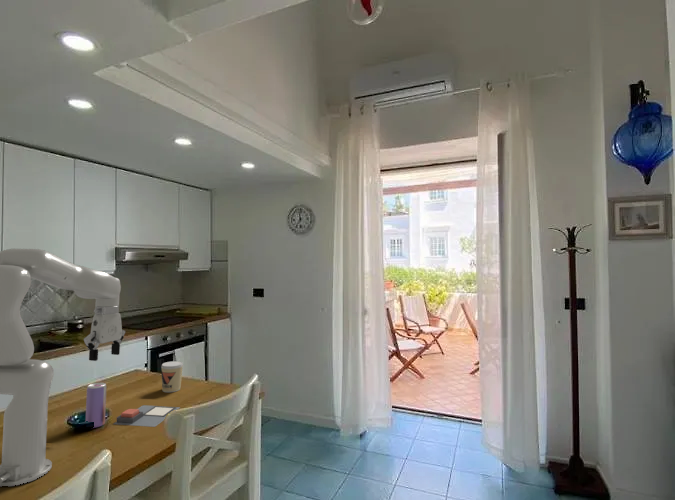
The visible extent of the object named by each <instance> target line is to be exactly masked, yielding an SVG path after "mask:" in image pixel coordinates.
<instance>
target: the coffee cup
mask: <svg viewBox="0 0 675 500" xmlns="http://www.w3.org/2000/svg"><path fill="white" fill-rule="evenodd" d="M183 363H184V362H182V361H177V360H176V361H175V360H174V361H173V360H172V361H167V362H163V363H162V364H161V366H160V367H161V389H162V392H164V393H174V392H178V391H180V390H181V386H182V378H183V377H182V376H183V368H184V367H183V366H184V364H183Z"/></svg>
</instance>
